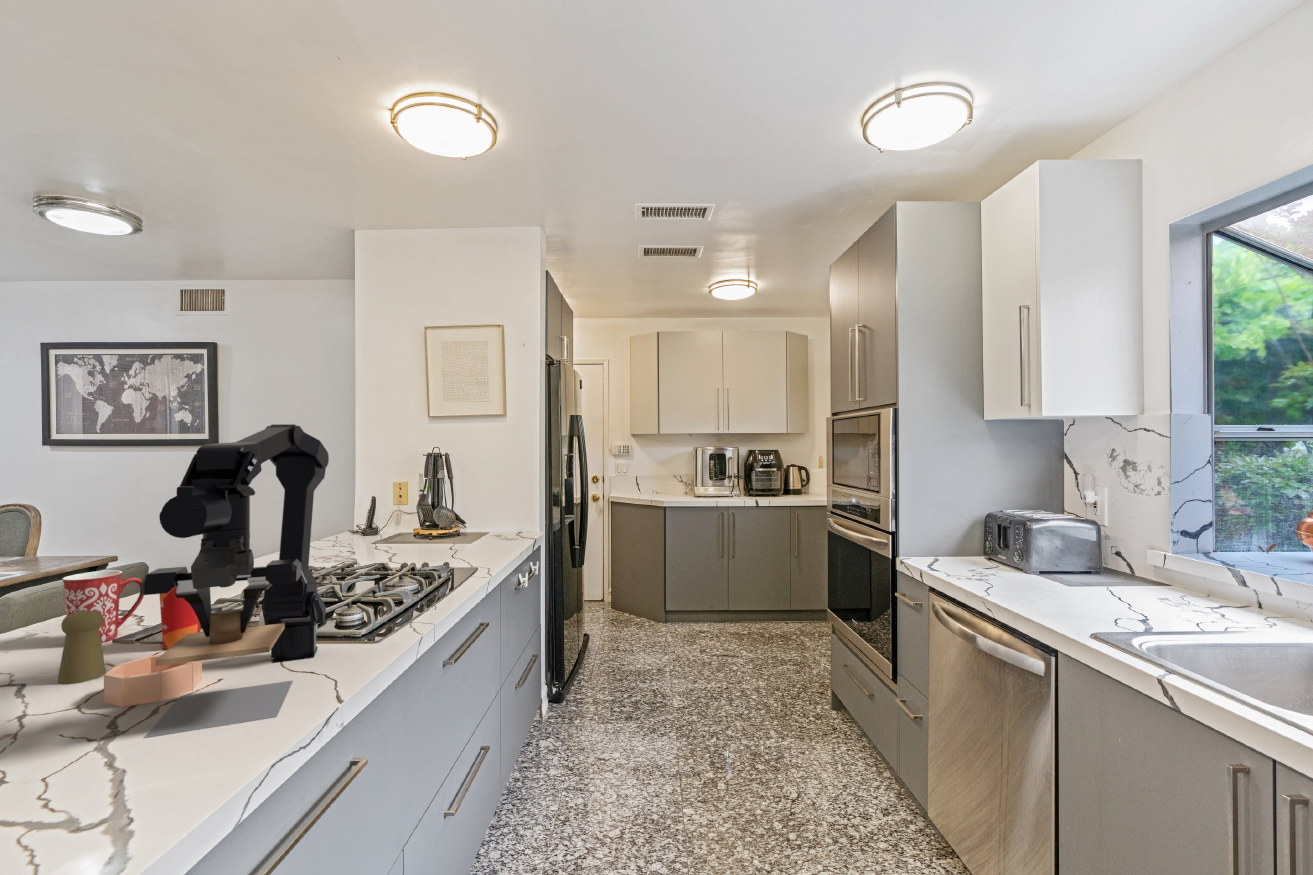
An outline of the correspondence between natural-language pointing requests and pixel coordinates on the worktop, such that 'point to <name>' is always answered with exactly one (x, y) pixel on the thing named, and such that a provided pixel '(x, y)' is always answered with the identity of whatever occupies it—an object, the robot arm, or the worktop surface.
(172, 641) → the paper cup
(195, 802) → the worktop surface
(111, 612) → the mug
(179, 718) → the mat
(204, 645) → the lid
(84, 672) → the olive pepper mill
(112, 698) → the bowl
